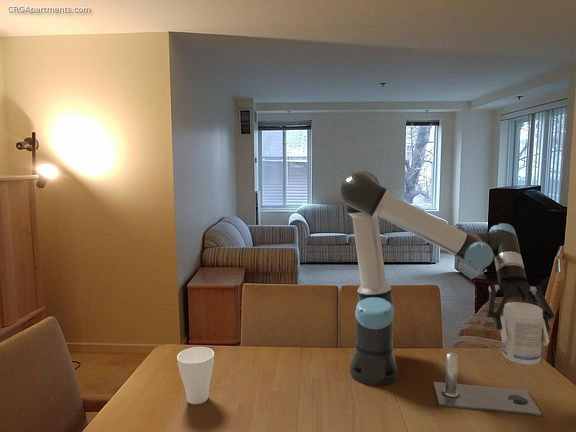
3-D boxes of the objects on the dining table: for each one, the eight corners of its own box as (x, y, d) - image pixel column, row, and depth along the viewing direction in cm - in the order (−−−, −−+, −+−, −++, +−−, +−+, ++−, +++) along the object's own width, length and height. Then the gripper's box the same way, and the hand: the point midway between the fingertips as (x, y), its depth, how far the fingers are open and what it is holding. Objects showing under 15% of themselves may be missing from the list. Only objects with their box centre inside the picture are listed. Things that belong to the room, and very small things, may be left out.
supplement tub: (546, 359, 117) (551, 308, 115) (529, 369, 112) (533, 316, 110) (512, 347, 125) (515, 299, 123) (493, 355, 120) (497, 305, 118)
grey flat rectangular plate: (439, 405, 118) (439, 403, 118) (433, 383, 130) (433, 381, 130) (541, 415, 113) (541, 413, 113) (525, 391, 124) (526, 389, 124)
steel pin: (443, 396, 121) (445, 357, 120) (441, 388, 126) (442, 350, 124) (460, 398, 120) (461, 358, 119) (457, 390, 125) (458, 351, 123)
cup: (222, 392, 126) (220, 349, 124) (204, 412, 116) (202, 365, 114) (191, 386, 129) (189, 344, 128) (171, 405, 120) (169, 360, 118)
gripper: (546, 277, 128) (565, 350, 115) (468, 274, 133) (478, 344, 119) (555, 265, 122) (576, 340, 109) (473, 262, 127) (484, 334, 113)
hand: (525, 342), depth 114 cm, fingers closed on supplement tub, 9 cm apart
